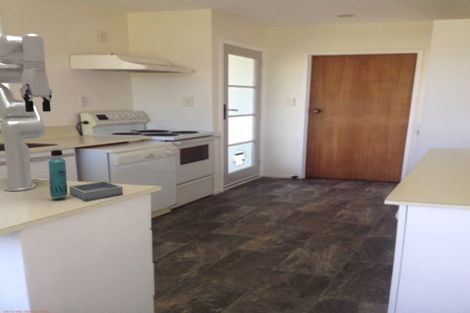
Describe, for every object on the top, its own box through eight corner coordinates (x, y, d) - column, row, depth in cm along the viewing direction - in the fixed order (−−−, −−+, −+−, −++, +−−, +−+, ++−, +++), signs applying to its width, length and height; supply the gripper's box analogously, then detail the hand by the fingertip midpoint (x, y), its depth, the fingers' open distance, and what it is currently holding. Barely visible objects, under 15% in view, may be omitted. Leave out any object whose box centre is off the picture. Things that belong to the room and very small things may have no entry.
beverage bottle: (46, 200, 155) (43, 150, 152) (58, 196, 161) (54, 148, 158) (60, 201, 153) (57, 151, 150) (71, 197, 160) (68, 149, 157)
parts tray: (69, 194, 165) (69, 186, 164) (105, 188, 176) (105, 181, 175) (85, 201, 153) (84, 192, 153) (122, 194, 164) (122, 186, 164)
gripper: (41, 69, 160) (44, 111, 162) (9, 65, 143) (14, 112, 145) (57, 69, 159) (60, 111, 161) (27, 64, 142) (31, 111, 144)
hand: (38, 111), depth 153 cm, fingers open, 9 cm apart
